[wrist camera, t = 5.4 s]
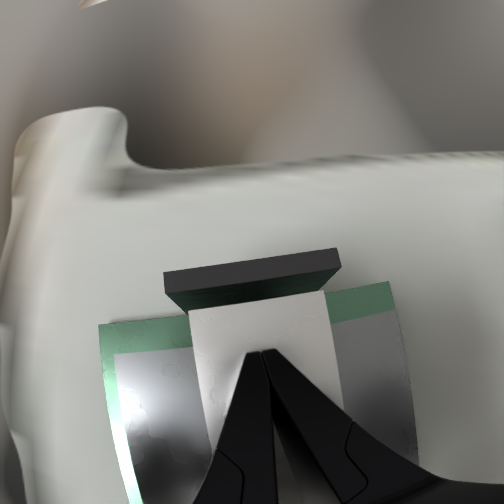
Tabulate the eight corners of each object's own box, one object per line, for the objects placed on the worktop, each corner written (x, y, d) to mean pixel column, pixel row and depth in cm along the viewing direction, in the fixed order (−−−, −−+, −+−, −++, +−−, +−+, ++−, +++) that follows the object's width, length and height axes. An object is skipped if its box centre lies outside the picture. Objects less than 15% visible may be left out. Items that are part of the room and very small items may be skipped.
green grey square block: (412, 518, 12) (489, 569, 4) (159, 566, 11) (122, 645, 3) (381, 285, 18) (468, 227, 10) (105, 327, 16) (12, 292, 8)
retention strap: (354, 591, 6) (358, 598, 6) (258, 611, 6) (259, 619, 5) (318, 293, 10) (323, 290, 9) (190, 312, 10) (188, 310, 9)
